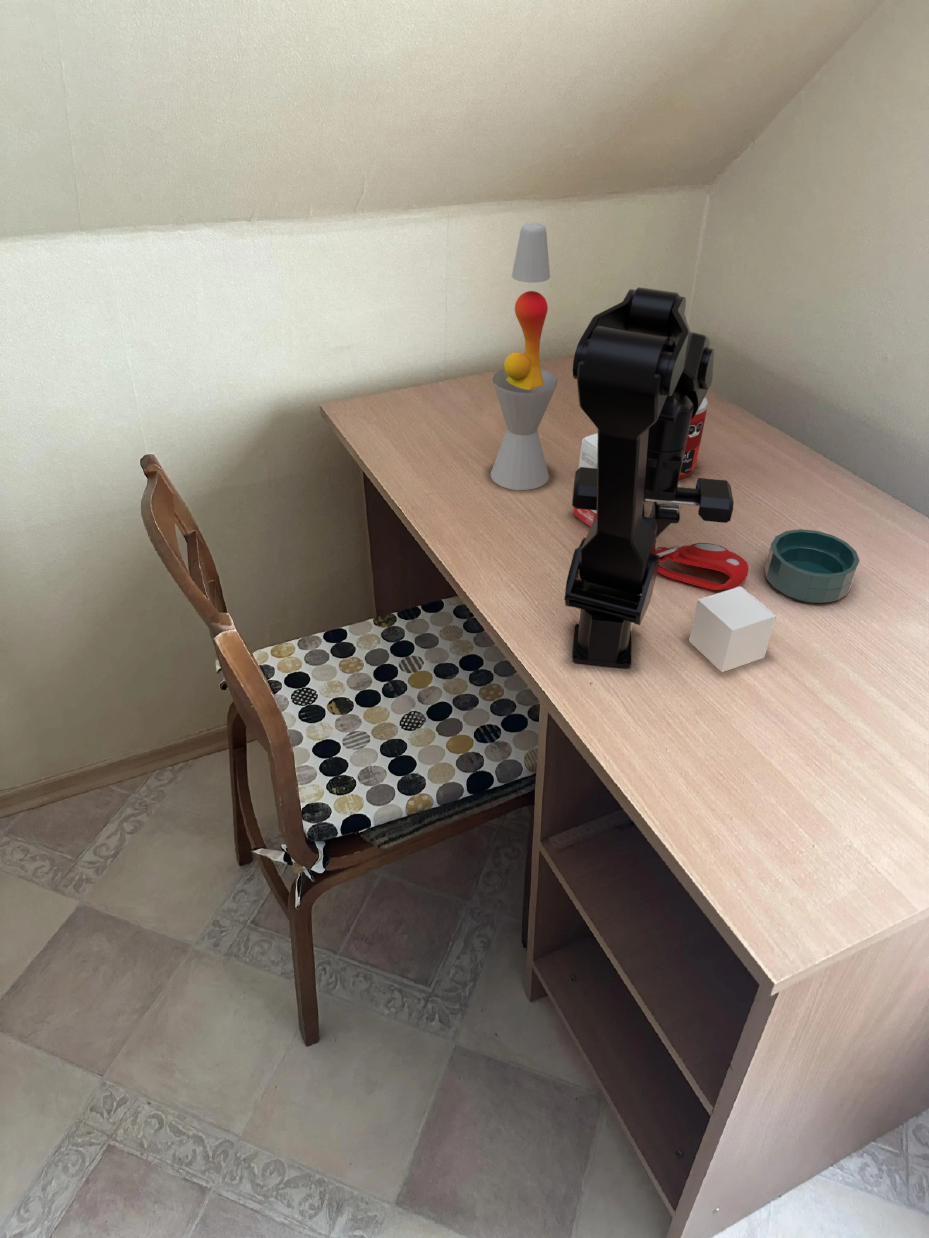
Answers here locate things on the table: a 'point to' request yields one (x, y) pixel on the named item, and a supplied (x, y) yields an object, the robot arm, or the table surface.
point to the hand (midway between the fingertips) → (640, 552)
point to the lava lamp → (525, 374)
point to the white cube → (731, 628)
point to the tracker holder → (705, 564)
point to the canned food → (694, 441)
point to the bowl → (811, 566)
